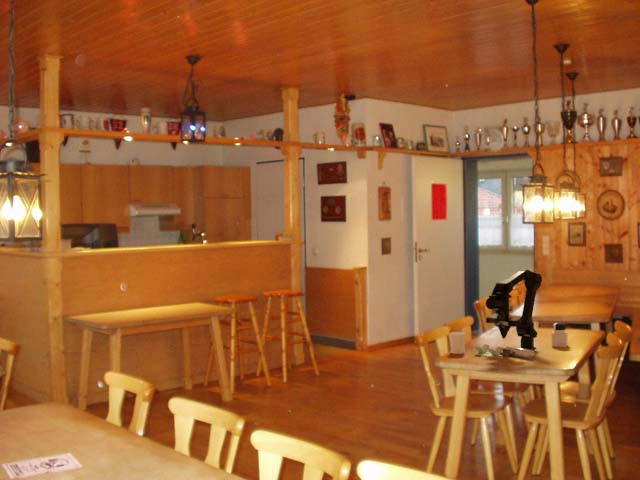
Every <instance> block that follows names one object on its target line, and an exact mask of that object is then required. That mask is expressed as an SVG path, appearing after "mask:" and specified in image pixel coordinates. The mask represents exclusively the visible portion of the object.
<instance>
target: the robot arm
mask: <svg viewBox="0 0 640 480" xmlns="http://www.w3.org/2000/svg"><path fill="white" fill-rule="evenodd" d="M522 281H524V283H523V284H524V287H525V289H526V291H525V296H524V301H523V308H522V314H521V317H520V318H517V319H516V318H513V319H512V317H510V312H512V309H511V308H510V299H511V298H513V296H512V295H511V293H512V291H513V290H514V287H515V286H517V284H519V283H521V282H522ZM542 282H543V277H542V275H541V274H540V273H537V272H534V271H532V270H530V269H528V268H521V269H518V271H517V272H515V273H514V274H512V275H511V276H510V277H507V279H504V280H499V281H498V282H496V283H495V285H494V288H493V290H492V292H491V295H488V298H487V299H486V300H485V306H486V308H487V309H488V310H494V313H493V314H491V315H490V316H487V317H486V318H485V323H487V324H494V326H496V327H497V328H498V330H499V333H500V335H501V339H503V340H504V339H506V337H507V335H508V333H509V331H510V329H511V328H512V327H515V330H516V333H517V334H516V335H517V337H520V347H519V346H518V347H519V348H523V349H528V350H535V349H537V347H535V340H534V339H536V338H538V332H537V331H536V329H535V323H534V320H533V312H534V305H535V301H536V296H537V295H536V294H537V291H538V290H539V288H540V287H541V285H542Z"/></svg>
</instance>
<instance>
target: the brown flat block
mask: <svg viewBox="0 0 640 480" xmlns="http://www.w3.org/2000/svg"><path fill="white" fill-rule="evenodd" d="M516 347H517V348H519V346H516ZM502 348H503V347H502ZM500 355H503V356H502V357H507V356H509V357H511V356H510V349H506V347H505V348H503V350H502V351H501V353H500Z"/></svg>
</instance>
